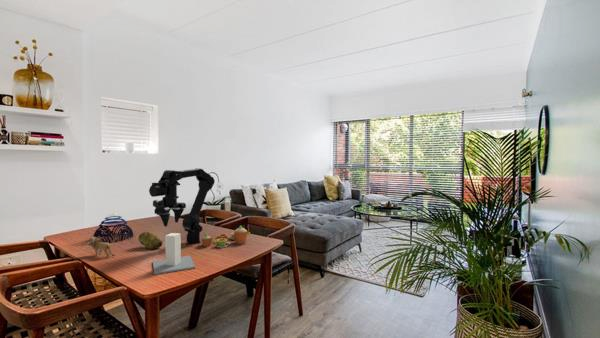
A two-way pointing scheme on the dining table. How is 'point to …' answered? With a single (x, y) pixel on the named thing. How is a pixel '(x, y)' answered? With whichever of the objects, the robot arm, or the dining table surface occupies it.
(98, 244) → the lion figurine
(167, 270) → the rubber mat
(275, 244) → the dining table surface
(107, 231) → the decorative bowl
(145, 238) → the potato
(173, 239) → the tall block
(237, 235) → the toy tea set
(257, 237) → the dining table surface
